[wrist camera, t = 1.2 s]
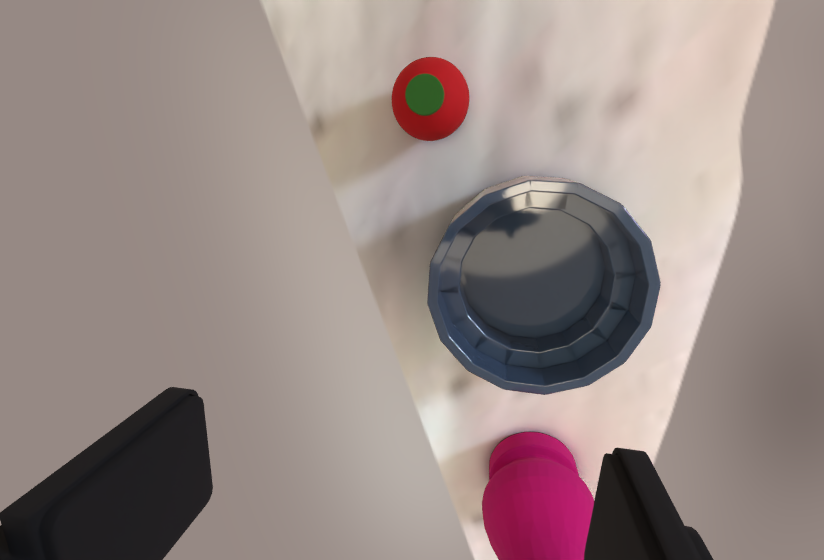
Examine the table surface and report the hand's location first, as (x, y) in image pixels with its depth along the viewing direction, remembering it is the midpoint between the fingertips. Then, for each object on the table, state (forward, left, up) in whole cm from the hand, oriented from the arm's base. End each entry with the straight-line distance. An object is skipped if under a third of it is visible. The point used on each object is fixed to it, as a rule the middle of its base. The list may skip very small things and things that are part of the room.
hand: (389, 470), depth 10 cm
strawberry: (-10, -2, -21) cm, 23 cm away
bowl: (0, +5, -21) cm, 21 cm away
